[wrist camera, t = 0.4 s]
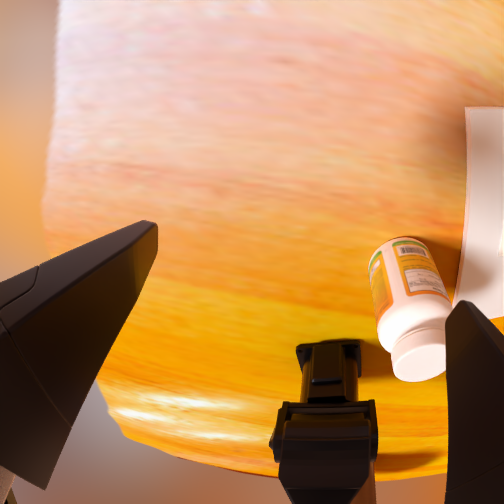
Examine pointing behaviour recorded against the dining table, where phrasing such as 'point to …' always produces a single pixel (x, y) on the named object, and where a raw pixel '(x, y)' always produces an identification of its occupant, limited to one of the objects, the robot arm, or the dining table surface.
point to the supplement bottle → (410, 308)
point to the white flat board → (483, 213)
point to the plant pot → (367, 490)
